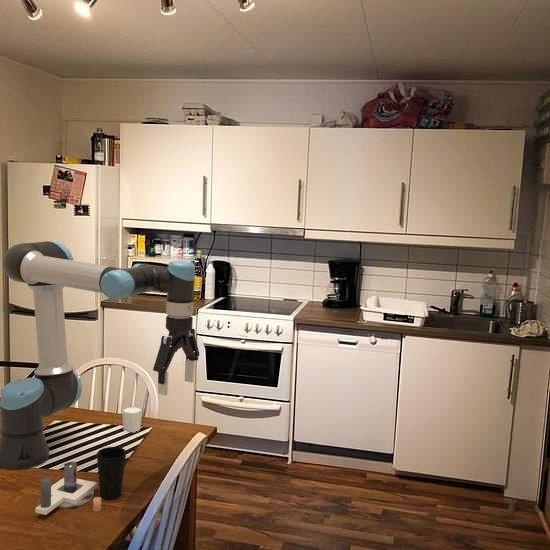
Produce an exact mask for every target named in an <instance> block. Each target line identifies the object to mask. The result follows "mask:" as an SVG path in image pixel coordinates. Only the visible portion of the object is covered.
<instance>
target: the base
mask: <svg viewBox="0 0 550 550" xmlns="http://www.w3.org/2000/svg"><path fill="white" fill-rule="evenodd" d="M63 465H64V466H63V478H64V489H63V490H62V491H63V492H67V493H72V494H73V493H74V492H76V491H77V490H78V489H80V488H77V479H78V477H77V475H78V472H77V471H78V463H77V462H75V461H68V462H65V463H64V464H63ZM94 491H95V489H94V490H93V491H92V492H90V493H89V494H88V495H86V496H85V497H84V498H83V499H81V500H80V501H79V502H77V503H76V504H71V503H67V502H62V503H61V504H60V505H58V506H57V507H56V508H59V509H71V508H76V507H77V508H78V507H80V506H83V505H85V504H88V502H90V501H91V500H93V498H94Z"/></svg>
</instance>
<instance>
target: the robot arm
mask: <svg viewBox="0 0 550 550" xmlns="http://www.w3.org/2000/svg"><path fill="white" fill-rule="evenodd" d="M66 246H67V245H65V244H63V243H61V242H59V241H48V240H45V241H37V242H27V243H26V242H25V243H24V242H21V243H17V244H15V245H13V246H11V247H9V248H8V250H6V252H5V253H4V255H3V257H2V269H3V272H4V273H5V275H6V276H7V277H8V278H9V279H11V280H12V281H14V282H17V283H25V284H27V287H28V288H29V289H31V290H32V292H33V303H34V319H35V330H36V342H37V343H36V345H37V357H38V367H37V368H36V369H35V370H34V372H33V374H34V377H25V378H19V379H15V380H11V381H10V382H8V383H7V384H6V385H4V387H3V388H2V390H1V394H0V468H3V469H7V470H22V469H30V468H33V467H36V466H39V465H41V464H43V463H45V462H46V461H47V460H48V459H49V456H50V447H49V445H48V444H47V440H46V436H45V434H44V419H45V418H47V417H49V416H52V415H54V414H57V413H59V412H61V411H64V410H68V409H69V408H70V407H71V406H73V405H75V404H77V402H78V401H79V399H80V398H81V395H82V392H83V391H82V390H83V384H82V380H81V377H79V375H78V373H76V372H75V371H74V368H73V366H72V365H71V364H69V362H68V351H67V350H68V348H67V337H66V336H67V335H66V333H67V332H66V323H65V322H66V320H65V307H64V293H63V291H64V290H63V289H64V288H65V287H67V288H72V289H77V290H84V291H88V292H94V293H100V294H104V296H106V297H107V298H108V299H112V300H117V299H119V300H120V299H125V298H128V297H132V296H135V295H136V296H137V295H141V294H145V293H149V292H154V293H161V294H166V308H165V314H166V317H165V329H166V330H167V332H168V335H166V336H165V335H162V336H161V338H160V345H159V347H158V352H157V355H156V359H155V361H154V365H153V368H152V369H153V370H152V371H153V372H157V374H158V375H157V382H158V385H157V394H158V395H162V396H168V393H169V392H168V391H169V389H168V388H169V371H168V369H169V367H170V365H171V362H172V360H173V358H174V356H175V354H176V353H177V352H178V350H180V349H182V351H183V353H184V355H185V356H186V358H187V359H185V361H184V382H188V383H194V380H195V378H194V377H195V361H199V356H200V351H199V346H198V343H197V339H196V329H195V328H193V321H194V319H193V316H192V315H194V296H195V295H194V293H195V280H196V274H195V272H196V269H195V268H196V266H195V264H194V262H191V261H187V260H171V261H169V262H168V265H167V266H160V265H154V264H149V263H135V264H134V265H132V267H129V268H128V267H127V268H120V267H113V266H109V265H102V264H96V263H90V262H84V261H77V260H74V257H73V254H72V252H71V251H70V249H69V248H68V247H66Z"/></svg>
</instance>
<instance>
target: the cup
mask: <svg viewBox="0 0 550 550" xmlns="http://www.w3.org/2000/svg"><path fill="white" fill-rule="evenodd" d="M126 457H127V451H126V449H124V448H122V447H121V446H120V447H118V446H107V447H104V448H101V449H99V450H98V451H97V453H96V461H97V473H98V475H97V477H98V485H99V497H101V499H102V500H107V501H111V500H116V499H118V498H120V497H121V496H122V491H123V490H122V489H123V484H124V483H123V482H124V473H125V465H126Z"/></svg>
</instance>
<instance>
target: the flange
mask: <svg viewBox="0 0 550 550" xmlns="http://www.w3.org/2000/svg"><path fill="white" fill-rule="evenodd" d="M77 488H80V489H78V490H77V491H76V492H74V493H73V494H72V493H67V492H63V491H62V490H63V489H64V477H63V478H61V479H59V480H58V481H56V483H54V484H52V477H51V476H44V477H42V478H40V504H39V505H38V506H36V507H35V513H36V514H39V515H40V514H41V515H45V516H47V515H48V514H49V513H51V512H52V511H53V510H54V509H55V508H58V507H57V506H58V505H60V504H61V503H62V502H67V503H71V504H76V503H77V502H79V501H80V500H81V499H83V498H84V497H85V496H86V495H88V494H89V493H90V492H92V491H93V490H94V491H95V490H96V489H97V488H98V482H96V481H91V480H85V479H81V478H77Z"/></svg>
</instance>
